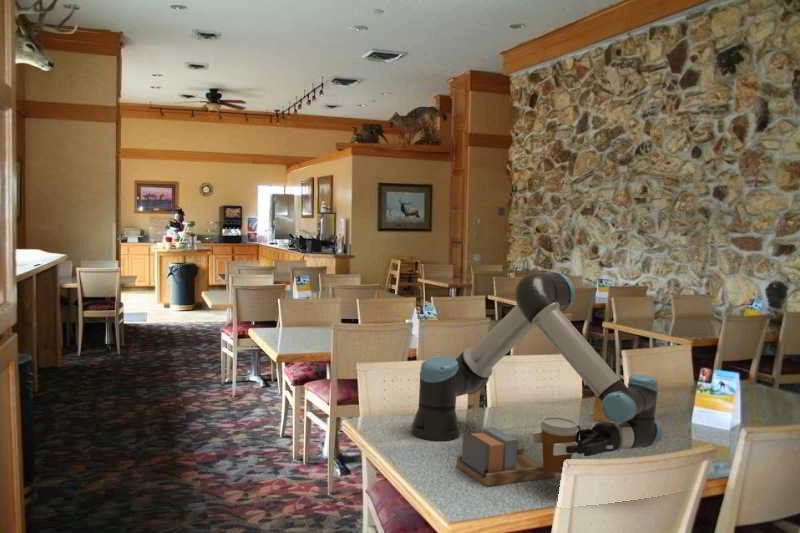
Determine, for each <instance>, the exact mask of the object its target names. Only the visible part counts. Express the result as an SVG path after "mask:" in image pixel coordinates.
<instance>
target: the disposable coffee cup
mask: <svg viewBox="0 0 800 533" xmlns="http://www.w3.org/2000/svg"><path fill="white" fill-rule="evenodd" d="M577 426H578V424H577V422H576V421H573V420H571V419H568V418H565V417H564V418H562V417H557V416H556V417H554V416H553V417H552V416H551V417H544V418H543V419H542V421H541V423H540V425H539V427H540V430H541V432H542V443H541V444H542V464H543V467H544V468H545V469H546V470H548V471H551V472H555V474H556V473H557V474H559V473H560V474H563V473H562V467H563V462H564V460H566V459H571V460H572V456H573V454H565V455H557V456H555V455H553V449H554V444H558V443H567V442H575V438H576V434H577V432H578V431H579V429H578V428H577Z"/></svg>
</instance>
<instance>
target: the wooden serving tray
mask: <svg viewBox="0 0 800 533" xmlns="http://www.w3.org/2000/svg"><path fill="white" fill-rule="evenodd" d="M524 451H525V448H524V447H517V456H516V469H515V470H508V471H500V472H493V473H486V477H485V478H482V477H480V476H479V475H477V474H476V473H474V472H473V471H471V470H470V469H468V468H467V467H465V466H464V465H462V464H461V463H460V462H462V453H461V454H457V455H456V466H457V468H459V469H460V470H463V471H464V472H465V473H466V474H468V475H470V476H471V477H473V478H474V479H475V480H477V481H479V482H480V483H481V484H482V485H484V486H485V487H494V486H501V485H503V486H504V485H509V484H516V483H522V482H529V481H530V482H531V481H536V480H544V479H549V478H550V479H551V478H556V473H555V472H551V471H548V470H546V469H545V468H544V467H543V463H541V462H539V461H537V460H536V459H534V458H532V457H530V456H528V455H526V454H525V452H524Z"/></svg>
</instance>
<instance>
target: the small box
mask: <svg viewBox="0 0 800 533" xmlns="http://www.w3.org/2000/svg"><path fill="white" fill-rule="evenodd" d="M593 404H594V405H593V418H592V419H593V421H598V422H601V423H603V422H611V421H610V420H609V419H608V418H606V416H605V415H604V414H603V411H602V402H601V401H600V399H599V398H598V397H597V396H596V394H595V393H594V403H593Z"/></svg>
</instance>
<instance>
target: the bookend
mask: <svg viewBox="0 0 800 533" xmlns="http://www.w3.org/2000/svg"><path fill="white" fill-rule="evenodd" d="M462 433H463V435H462V436H463V437H462V448H461V450H462V452H461V454H462V462H460V463H461V464H462V465H464V466H465V467H467V468H468V469H470V470H471V471H473V472H474V473H476V474H477V475H479V476H480V477H482V478H485V477H486V473H488V466H489V451H490V445H489V444H488V443H486V442H484V441H482V440H481V439H479V438H477V437H475V436H474V435H472V434H473V433H470V432H469V431H463V432H462Z"/></svg>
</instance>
